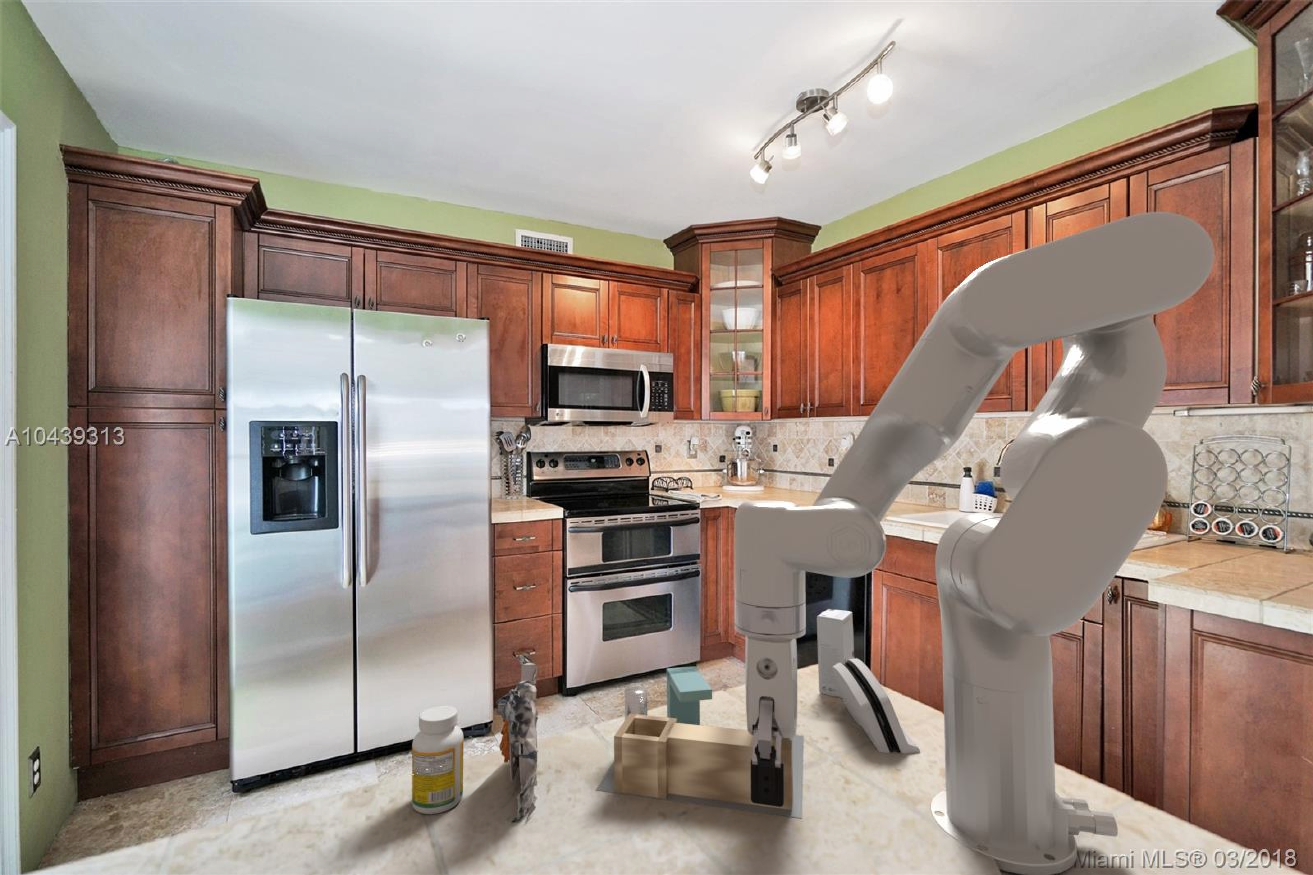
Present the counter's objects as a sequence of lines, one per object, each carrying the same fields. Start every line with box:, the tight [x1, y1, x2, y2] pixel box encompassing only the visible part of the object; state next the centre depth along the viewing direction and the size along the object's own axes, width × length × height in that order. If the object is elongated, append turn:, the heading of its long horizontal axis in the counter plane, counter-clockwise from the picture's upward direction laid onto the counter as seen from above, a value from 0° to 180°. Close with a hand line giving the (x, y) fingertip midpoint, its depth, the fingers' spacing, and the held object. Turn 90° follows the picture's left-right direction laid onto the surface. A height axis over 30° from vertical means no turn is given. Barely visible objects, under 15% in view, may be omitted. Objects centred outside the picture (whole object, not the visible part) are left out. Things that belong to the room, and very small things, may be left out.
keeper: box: [666, 665, 713, 725], centre depth 76 cm, size 4×8×8 cm, turn 11°
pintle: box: [624, 685, 648, 720], centre depth 74 cm, size 3×3×8 cm
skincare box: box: [816, 608, 855, 699], centre depth 96 cm, size 6×4×12 cm
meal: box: [494, 654, 539, 823], centre depth 67 cm, size 15×4×13 cm, turn 11°
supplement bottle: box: [411, 705, 465, 815], centre depth 66 cm, size 5×5×10 cm
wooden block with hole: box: [613, 714, 793, 810], centre depth 66 cm, size 19×6×6 cm, turn 76°
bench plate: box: [595, 725, 805, 819], centre depth 71 cm, size 22×18×1 cm
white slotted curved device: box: [832, 657, 921, 754], centre depth 81 cm, size 17×5×10 cm, turn 178°
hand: (770, 777), depth 64 cm, fingers open, 9 cm apart
